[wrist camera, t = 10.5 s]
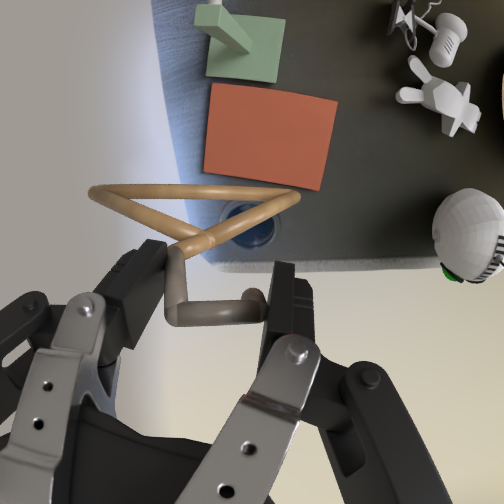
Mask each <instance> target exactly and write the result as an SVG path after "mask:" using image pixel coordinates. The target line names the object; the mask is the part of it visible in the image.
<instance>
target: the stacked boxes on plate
mask: <svg viewBox="0 0 504 504" xmlns="http://www.w3.org/2000/svg"><path fill="white" fill-rule="evenodd" d="M502 107H503V118H504V75H503V84H502Z"/></svg>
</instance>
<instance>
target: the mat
mask: <svg viewBox="0 0 504 504" xmlns="http://www.w3.org/2000/svg"><path fill="white" fill-rule="evenodd" d="M337 103H338V102H335V101H331V100H327V99H322V98H317V97H312V96H307V95H302V94H296V93H291V92H285V91H279V90H272V89H265V88H258V87H249V86H241V85H231V84H219V83H212V89H211V97H210V106H209V116H208V126H207V136H206V147H205V159H204V171H203V172H207V173H215V174H222V175H229V176H236V177H243V178H249V179H255V180H261V181H267V182H273V183H279V184H285V185H290V186H296V187H301V188H307V189H312V190H317V191H319V190H320V185H321V181H322V176H323V172H324V167H325V163H326V158H327V153H328V148H329V144H330V139H331V134H332V129H333V124H334V119H335V113H336V108H337Z"/></svg>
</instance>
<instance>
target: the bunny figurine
mask: <svg viewBox="0 0 504 504" xmlns="http://www.w3.org/2000/svg"><path fill="white" fill-rule="evenodd" d="M408 64H409V66H410V68H411V70H412V71H413V72H414V73H415V74H416V75H417V76H418V77H419V78H420V79H421V80H422V81H423V82H424V84H423V86H422V88H421V90H418V89H414V88H409V87H403V88H401V89H400V90H399V91H398V92H397V93H396V100H397V101H398V102H399V103H402V104H408V103H421V105H423V106H424V107H425V108H427V109H430V110H432V111H435V112H438V113H441V114H442V133H444V134H446V135H448V136H451V137H453V136H454V134H455V132H456V131H457V129H458V128H459V126H460V127H462V128H464V129H466V130H468V131H470V132H472V133H475V130H476V127H477V123H476V121H479V119H480V116H481V112H480V111H479V108H478V106H476V105H474V104H471V103H469V96H470V87H471V86H470V85H469V84H468V83H466V82H459V83H458V84H457V85H456V86H455V87H454V86H453V85H451V84H450V83H448V82H446V81H444V80H441V79H439V78H436V77H433V76H431V75H430V74H429V72H428V71H427V70H426V68H425V67H424V65H423V64H422V62H421V61H420V60H419V59H418V58H417V57H416V56H413V55H411V56H409V57H408Z"/></svg>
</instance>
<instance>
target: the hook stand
mask: <svg viewBox="0 0 504 504" xmlns="http://www.w3.org/2000/svg"><path fill="white" fill-rule="evenodd" d="M193 26H194V27H196V28H198V29H200V30H202V31H203V32H205V33H207V34H208V35H210V36H211V39H210V46H209V53H208V61H207V68H206V76H211V77H225V78H236V79H245V80H254V81H262V82H269V83H276V80H277V73H278V67H279V60H280V54H281V47H282V41H283V34H284V28H285V20H284V19H276V18H268V17H258V16H247V15H230V13H229V12H228V11H227V10H226V9H225V8H224V7H223V6H222V0H207V4H197V6H196V12H195V18H194V25H193Z"/></svg>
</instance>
